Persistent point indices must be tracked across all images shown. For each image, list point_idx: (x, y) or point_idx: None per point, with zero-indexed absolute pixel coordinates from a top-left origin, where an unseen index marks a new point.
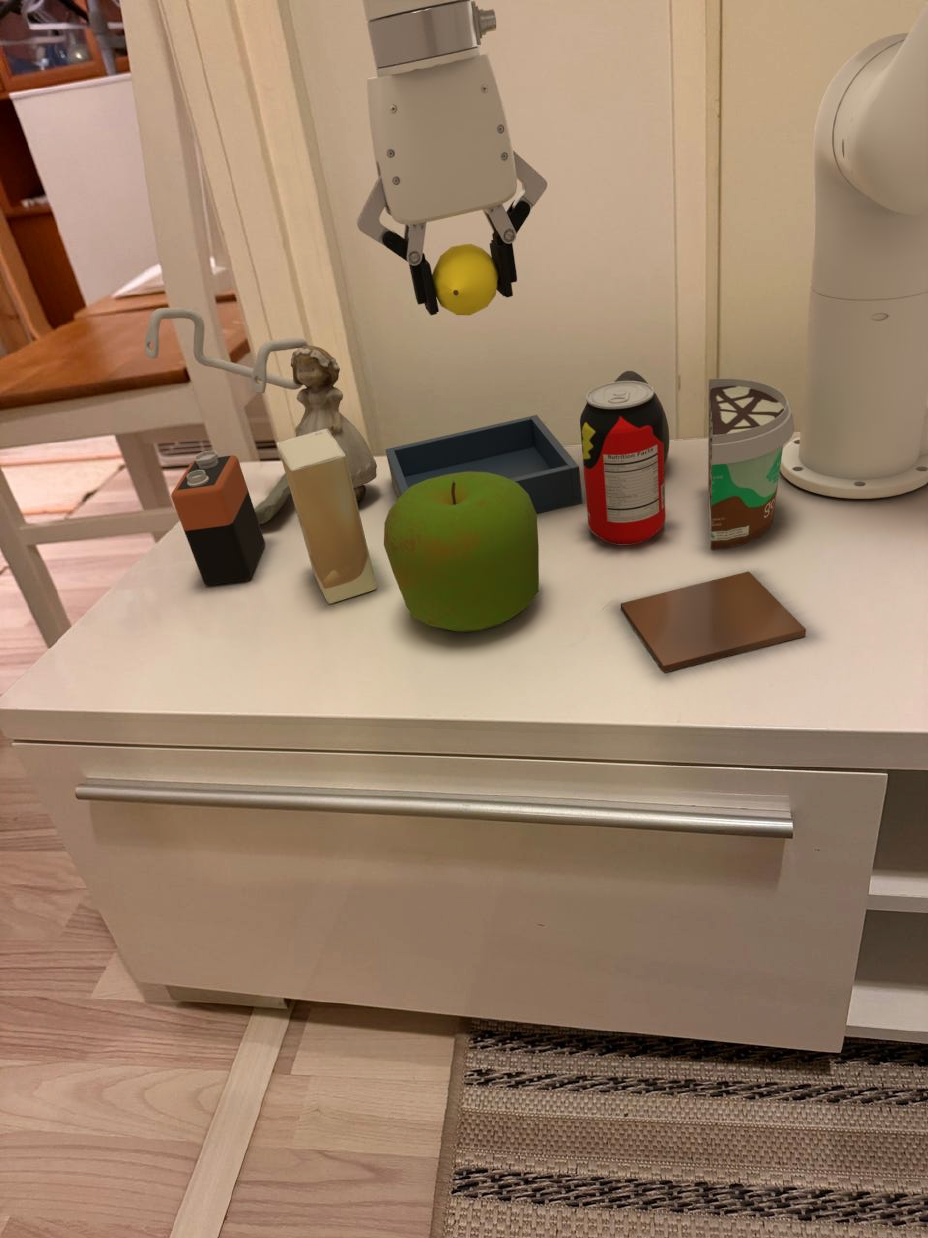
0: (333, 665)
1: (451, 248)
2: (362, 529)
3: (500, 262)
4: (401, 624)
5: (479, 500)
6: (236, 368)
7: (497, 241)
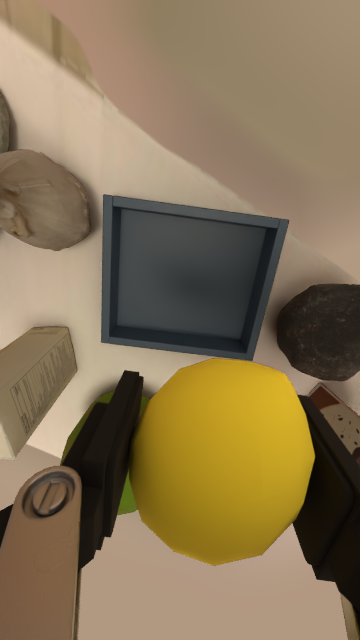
0: (46, 423)
1: (201, 524)
2: (54, 402)
3: (295, 526)
4: (87, 409)
5: (121, 508)
6: None
7: (333, 575)
